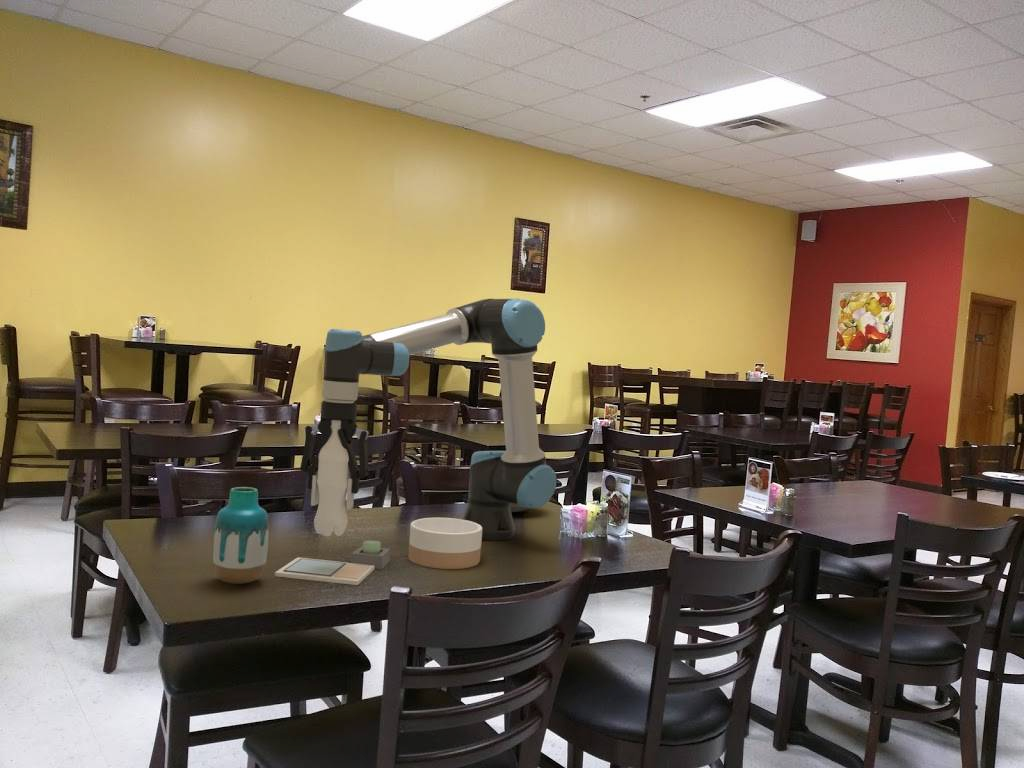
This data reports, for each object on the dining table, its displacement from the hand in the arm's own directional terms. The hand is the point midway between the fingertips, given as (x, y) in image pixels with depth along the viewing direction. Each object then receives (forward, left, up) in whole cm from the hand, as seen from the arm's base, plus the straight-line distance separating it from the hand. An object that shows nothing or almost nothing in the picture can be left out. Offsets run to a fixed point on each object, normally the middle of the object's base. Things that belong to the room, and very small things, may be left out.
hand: (332, 506), depth 180 cm
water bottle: (0, 0, -6) cm, 6 cm away
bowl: (-22, -21, -15) cm, 34 cm away
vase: (+14, +13, -15) cm, 24 cm away
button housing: (-7, -10, -15) cm, 19 cm away
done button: (-7, -10, -13) cm, 18 cm away
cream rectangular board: (0, 0, -15) cm, 15 cm away
